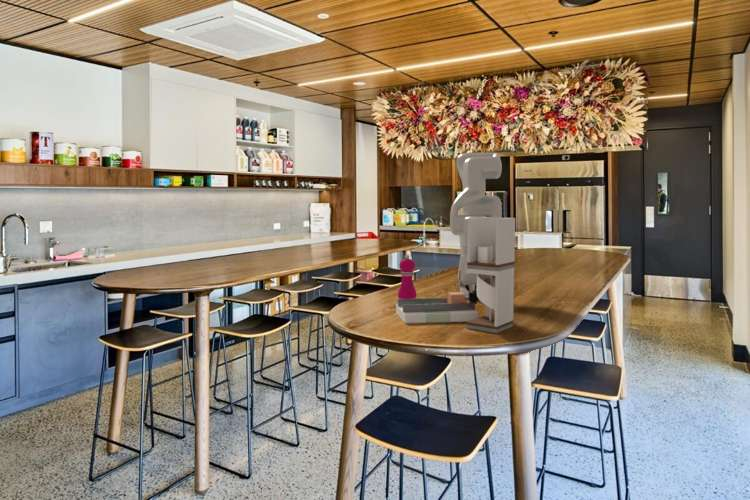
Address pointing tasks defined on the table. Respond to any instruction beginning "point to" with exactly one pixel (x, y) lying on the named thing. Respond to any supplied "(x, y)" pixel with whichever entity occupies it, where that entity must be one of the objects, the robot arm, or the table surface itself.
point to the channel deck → (436, 316)
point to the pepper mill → (407, 279)
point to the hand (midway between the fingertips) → (473, 303)
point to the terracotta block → (456, 297)
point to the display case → (492, 270)
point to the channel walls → (433, 305)
